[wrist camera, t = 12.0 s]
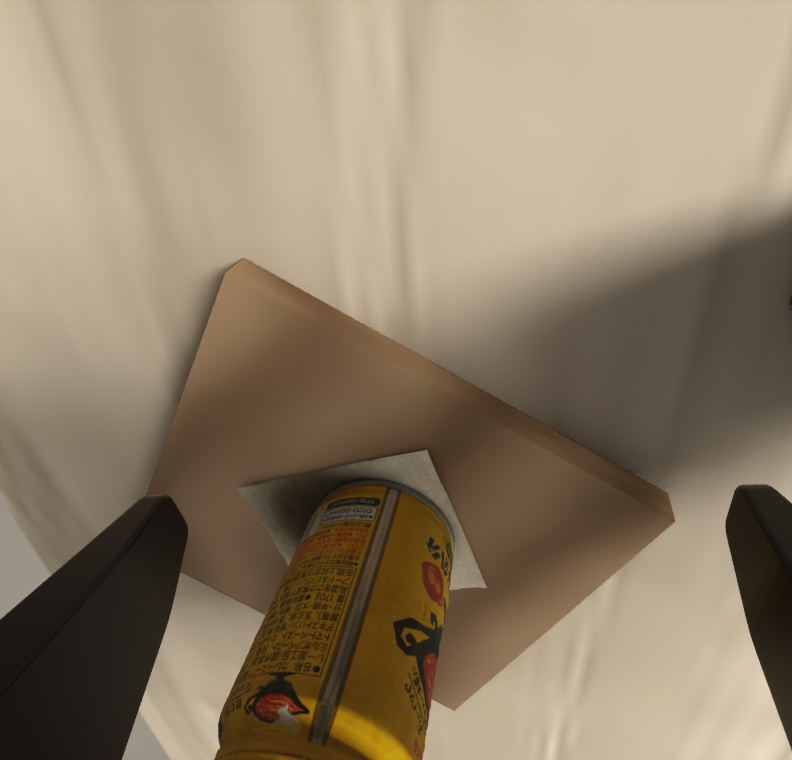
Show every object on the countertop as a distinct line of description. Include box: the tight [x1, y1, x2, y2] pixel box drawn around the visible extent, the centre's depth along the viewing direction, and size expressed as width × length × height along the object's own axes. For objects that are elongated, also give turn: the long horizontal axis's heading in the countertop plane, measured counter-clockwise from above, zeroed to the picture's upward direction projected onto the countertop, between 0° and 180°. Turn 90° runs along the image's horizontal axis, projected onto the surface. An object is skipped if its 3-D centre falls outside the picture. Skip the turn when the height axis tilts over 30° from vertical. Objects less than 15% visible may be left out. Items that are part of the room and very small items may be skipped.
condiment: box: [214, 450, 487, 760], centre depth 20 cm, size 7×8×12 cm
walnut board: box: [146, 258, 675, 711], centre depth 26 cm, size 18×16×2 cm
